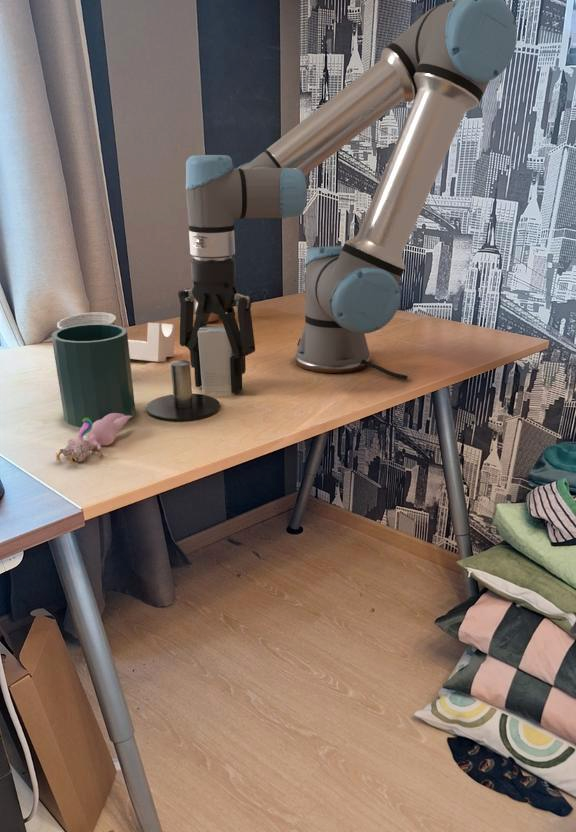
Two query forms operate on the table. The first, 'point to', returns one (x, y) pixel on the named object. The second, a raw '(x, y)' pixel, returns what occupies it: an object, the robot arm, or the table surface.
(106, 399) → the cup
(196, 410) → the lid
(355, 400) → the table surface
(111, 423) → the pink toy creature
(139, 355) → the bracket
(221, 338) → the cosmetic box
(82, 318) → the plastic cup
